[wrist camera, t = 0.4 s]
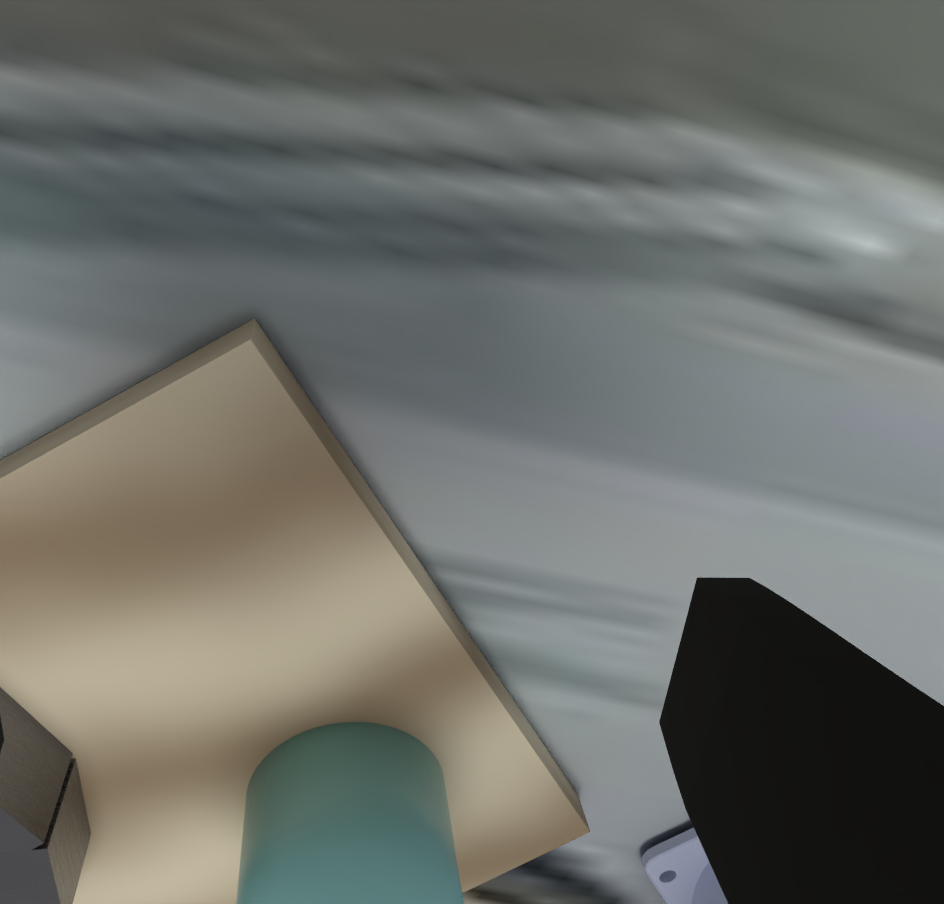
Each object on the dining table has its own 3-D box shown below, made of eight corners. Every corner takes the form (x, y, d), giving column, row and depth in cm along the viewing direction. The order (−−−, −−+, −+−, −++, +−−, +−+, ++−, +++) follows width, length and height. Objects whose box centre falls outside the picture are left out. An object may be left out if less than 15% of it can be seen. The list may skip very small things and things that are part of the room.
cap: (477, 809, 23) (515, 1006, 18) (314, 889, 23) (313, 1100, 19) (383, 690, 20) (401, 881, 16) (205, 780, 21) (174, 991, 16)
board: (578, 796, 25) (589, 831, 24) (-20, 1086, 26) (-34, 1131, 25) (254, 318, 17) (250, 339, 16) (-552, 767, 19) (-602, 813, 18)
